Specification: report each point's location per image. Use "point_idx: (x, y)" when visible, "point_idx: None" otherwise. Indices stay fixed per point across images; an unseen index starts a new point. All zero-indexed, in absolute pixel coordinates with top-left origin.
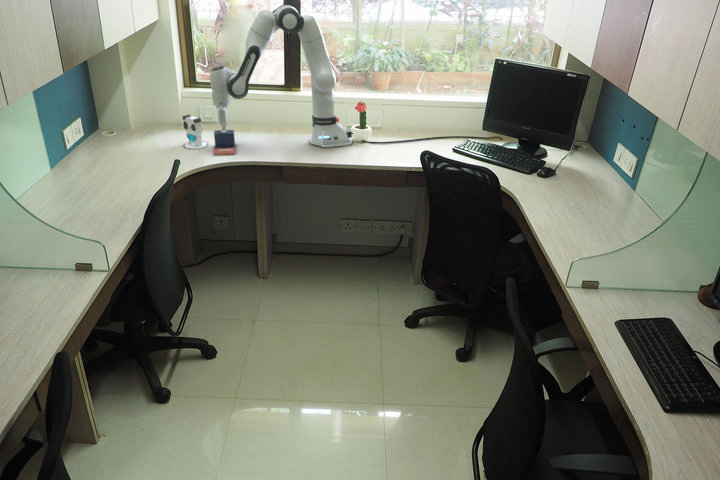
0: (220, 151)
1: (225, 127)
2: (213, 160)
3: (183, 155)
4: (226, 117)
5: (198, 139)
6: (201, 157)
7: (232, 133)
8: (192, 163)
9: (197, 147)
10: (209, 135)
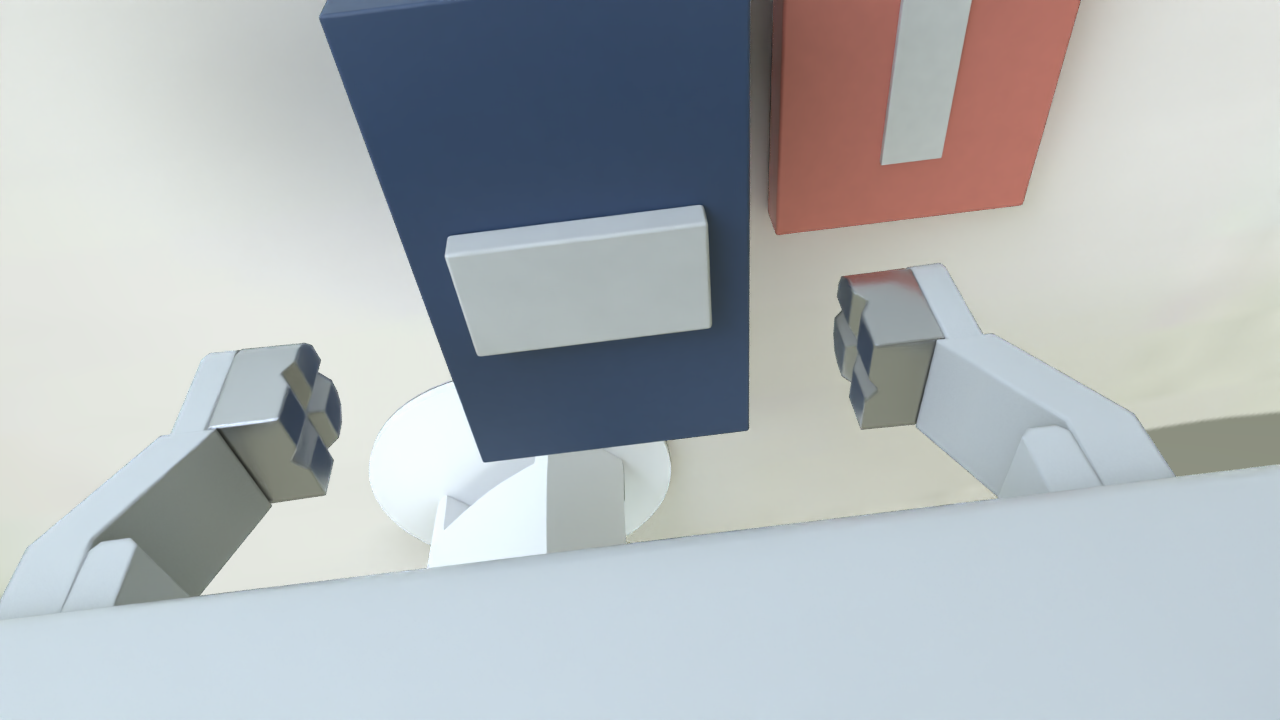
0: (985, 123)
1: (978, 333)
2: (1262, 162)
3: (893, 504)
4: (1127, 651)
5: (590, 522)
6: (1039, 336)
7: (748, 4)
8: (1226, 383)
9: (642, 447)
10: (14, 416)
